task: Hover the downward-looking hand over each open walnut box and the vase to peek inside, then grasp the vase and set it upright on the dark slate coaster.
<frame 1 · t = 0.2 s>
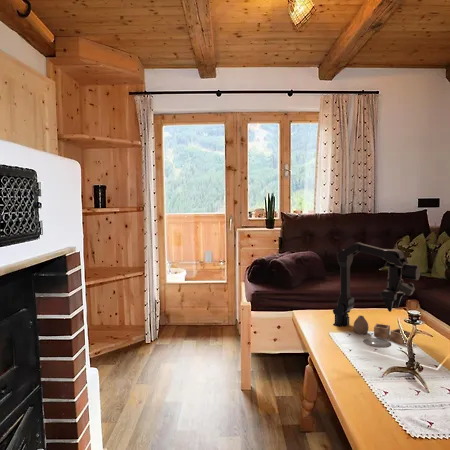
hand: (393, 309, 180), 13 cm above the table, fingers open, 9 cm apart
box a: (381, 336, 182), on the table
box b: (400, 342, 175), on the table
coaster: (377, 343, 173), on the table
vase: (360, 334, 186), on the table
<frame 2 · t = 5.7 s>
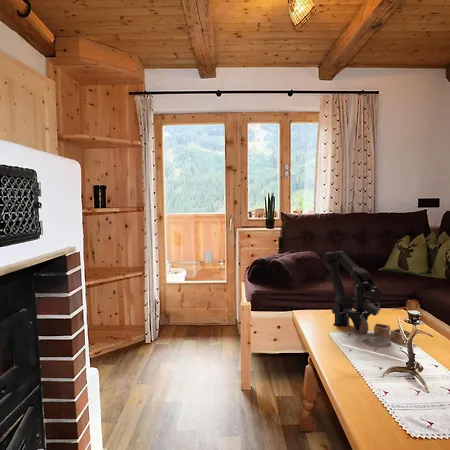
hand: (360, 328, 186), 3 cm above the table, fingers closed on vase, 7 cm apart
vase: (360, 334, 186), on the table, touching gripper
everything else where it was.
when the fingers open (4 cm above the table, at t = 10.2 s): vase stays where it is, resting on coaster.
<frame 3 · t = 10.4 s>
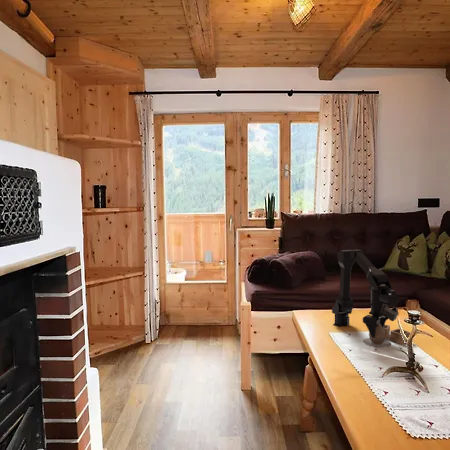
hand: (377, 334, 173), 4 cm above the table, fingers open, 9 cm apart
vase: (377, 342, 173), resting on coaster
everything else where it was.
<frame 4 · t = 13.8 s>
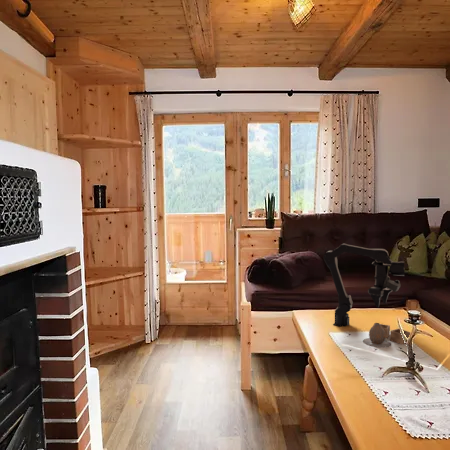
hand: (381, 305, 191), 13 cm above the table, fingers open, 9 cm apart
nothing on the table moved.
at the end: vase 0.1 cm from the coaster (horizontally); vase tilted 0°; vase resting on coaster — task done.
